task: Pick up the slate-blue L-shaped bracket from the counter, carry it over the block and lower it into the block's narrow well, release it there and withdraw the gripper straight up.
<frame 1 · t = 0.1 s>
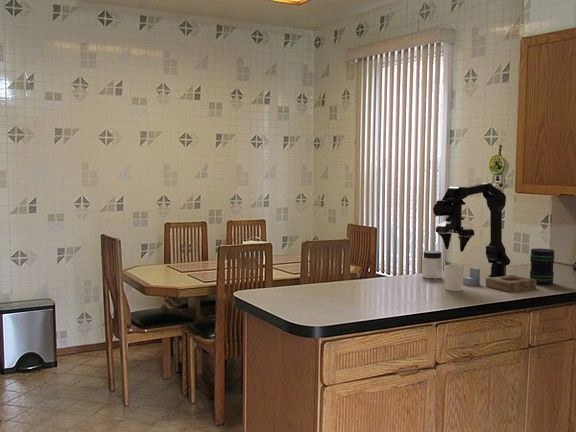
hand: (454, 250, 278), 14 cm above the table, tool pointing down, fingers open, 9 cm apart
bracket: (471, 284, 275), on the table
well block: (510, 287, 269), on the table
white cup: (453, 290, 264), on the table
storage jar: (541, 283, 278), on the table
jar: (431, 277, 292), on the table
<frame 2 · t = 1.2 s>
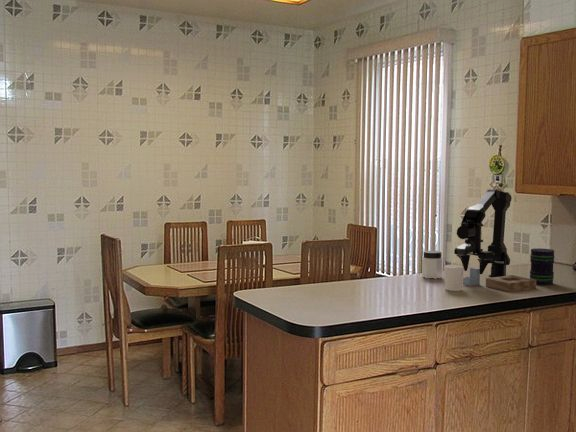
hand: (473, 272, 275), 5 cm above the table, tool pointing down, fingers open, 9 cm apart
nothing on the table moved.
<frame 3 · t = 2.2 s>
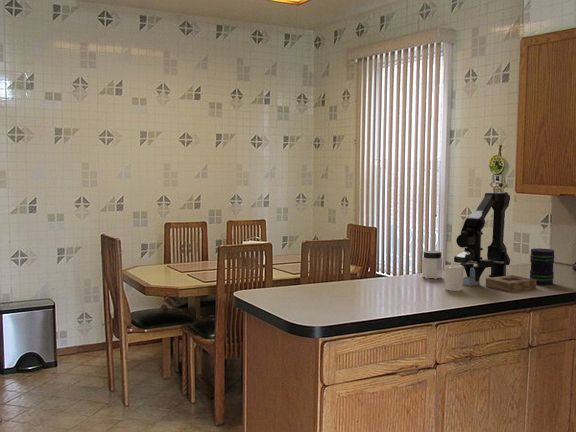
hand: (473, 280, 276), 2 cm above the table, tool pointing down, fingers closed on bracket, 4 cm apart
bracket: (471, 284, 275), on the table, touching gripper
everything else where it was.
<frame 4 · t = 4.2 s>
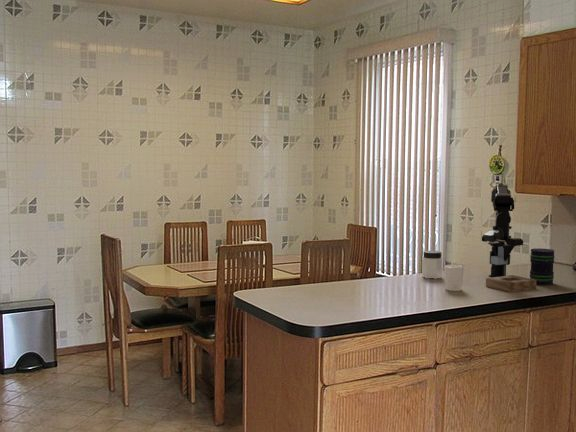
hand: (501, 259, 270), 12 cm above the table, tool pointing down, fingers closed on bracket, 4 cm apart
bracket: (499, 263, 270), point 10 cm above the table, touching gripper
everything else where it was.
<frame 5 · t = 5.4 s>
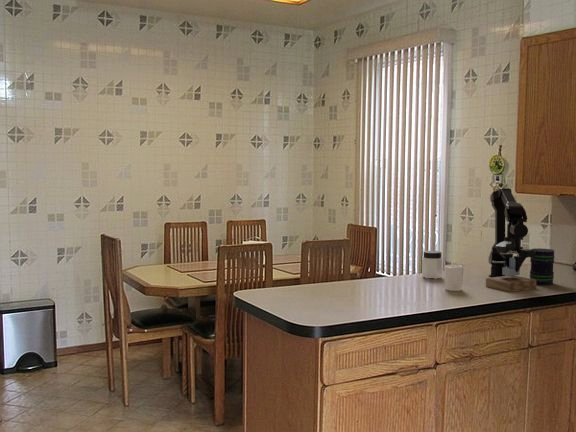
hand: (512, 271, 269), 7 cm above the table, tool pointing down, fingers closed on bracket, 4 cm apart
bracket: (510, 274, 268), point 5 cm above the table, touching gripper
everything else where it was.
when the fingers open (4 cm above the table, at t = 6.2 s): bracket drops 2 cm, resting on well block.
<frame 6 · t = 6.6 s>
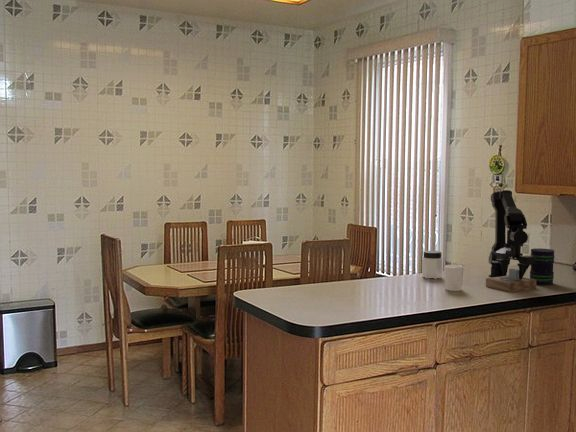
hand: (512, 277, 269), 4 cm above the table, tool pointing down, fingers open, 8 cm apart
bracket: (510, 286, 269), point 1 cm above the table, touching well block
everything else where it was.
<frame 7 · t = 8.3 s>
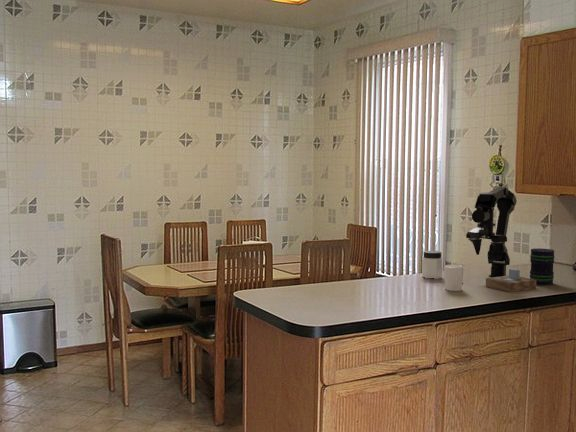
hand: (485, 256, 278), 12 cm above the table, tool pointing down, fingers open, 9 cm apart
nothing on the table moved.
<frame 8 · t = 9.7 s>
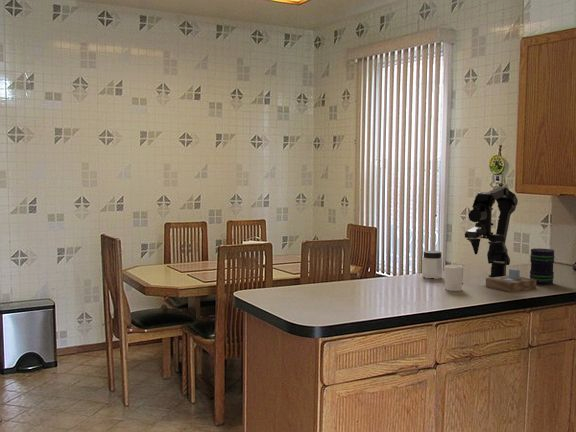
hand: (483, 255, 279), 12 cm above the table, tool pointing down, fingers open, 9 cm apart
nothing on the table moved.
at the end: bracket 0.1 cm off-centre on the well block, point 0.6 cm above the well block's base; bracket tilted 0°; the gripper is holding nothing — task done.
